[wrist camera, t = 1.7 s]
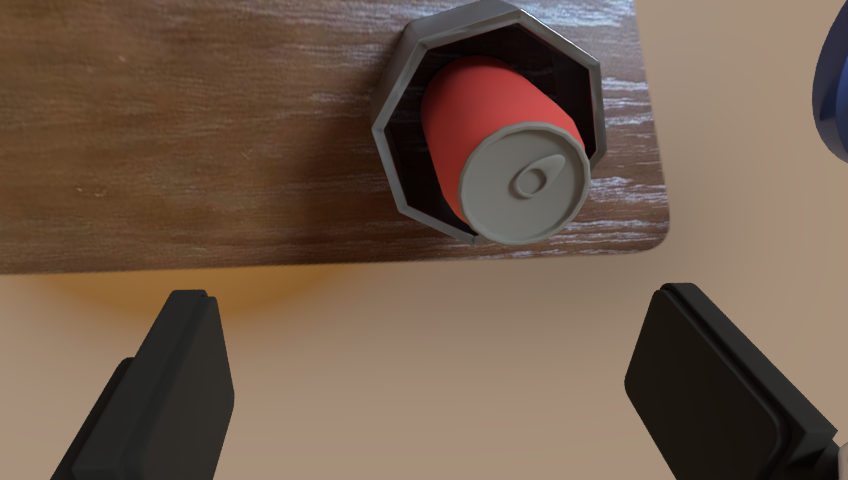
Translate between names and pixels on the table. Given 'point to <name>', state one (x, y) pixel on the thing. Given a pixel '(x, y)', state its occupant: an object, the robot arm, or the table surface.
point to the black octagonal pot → (570, 63)
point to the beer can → (503, 152)
